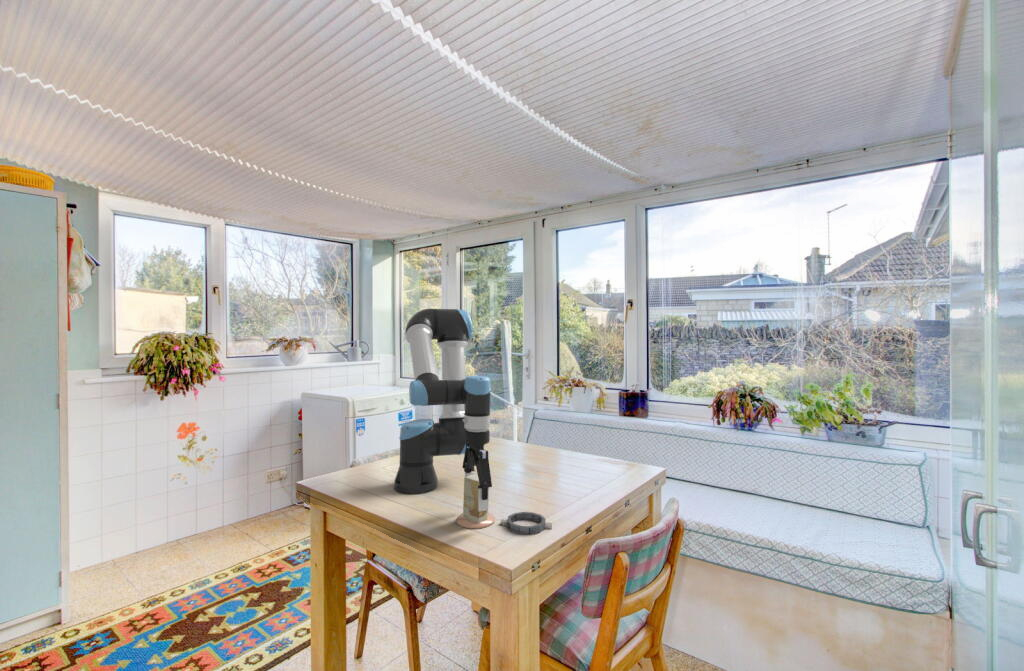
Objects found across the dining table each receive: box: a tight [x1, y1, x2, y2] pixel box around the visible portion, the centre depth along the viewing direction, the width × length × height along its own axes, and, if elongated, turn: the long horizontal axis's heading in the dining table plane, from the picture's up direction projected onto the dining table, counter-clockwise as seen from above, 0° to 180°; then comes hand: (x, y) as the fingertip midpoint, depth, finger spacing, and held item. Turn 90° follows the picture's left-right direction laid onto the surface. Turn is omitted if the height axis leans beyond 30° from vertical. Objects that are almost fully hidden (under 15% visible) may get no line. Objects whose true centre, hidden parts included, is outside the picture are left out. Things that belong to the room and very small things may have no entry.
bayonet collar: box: [500, 511, 553, 535], centre depth 129 cm, size 15×11×2 cm
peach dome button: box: [456, 512, 495, 530], centre depth 132 cm, size 11×11×1 cm
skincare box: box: [462, 473, 489, 523], centre depth 132 cm, size 6×4×12 cm
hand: (475, 502), depth 132 cm, fingers open, 13 cm apart
